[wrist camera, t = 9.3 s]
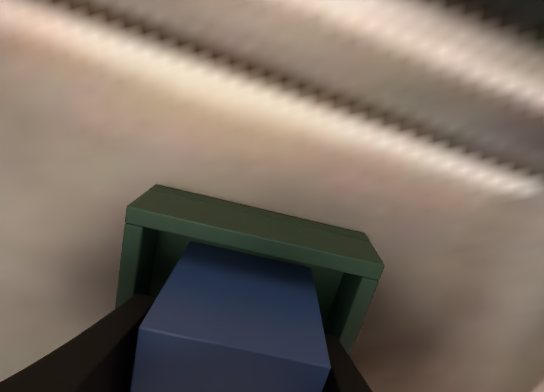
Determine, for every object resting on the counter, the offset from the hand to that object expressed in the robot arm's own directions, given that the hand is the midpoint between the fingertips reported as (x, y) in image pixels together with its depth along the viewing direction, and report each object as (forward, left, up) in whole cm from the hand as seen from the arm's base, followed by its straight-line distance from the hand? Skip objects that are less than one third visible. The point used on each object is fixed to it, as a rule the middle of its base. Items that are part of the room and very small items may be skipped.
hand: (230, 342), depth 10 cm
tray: (0, 0, -2) cm, 2 cm away
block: (0, 0, -2) cm, 2 cm away
